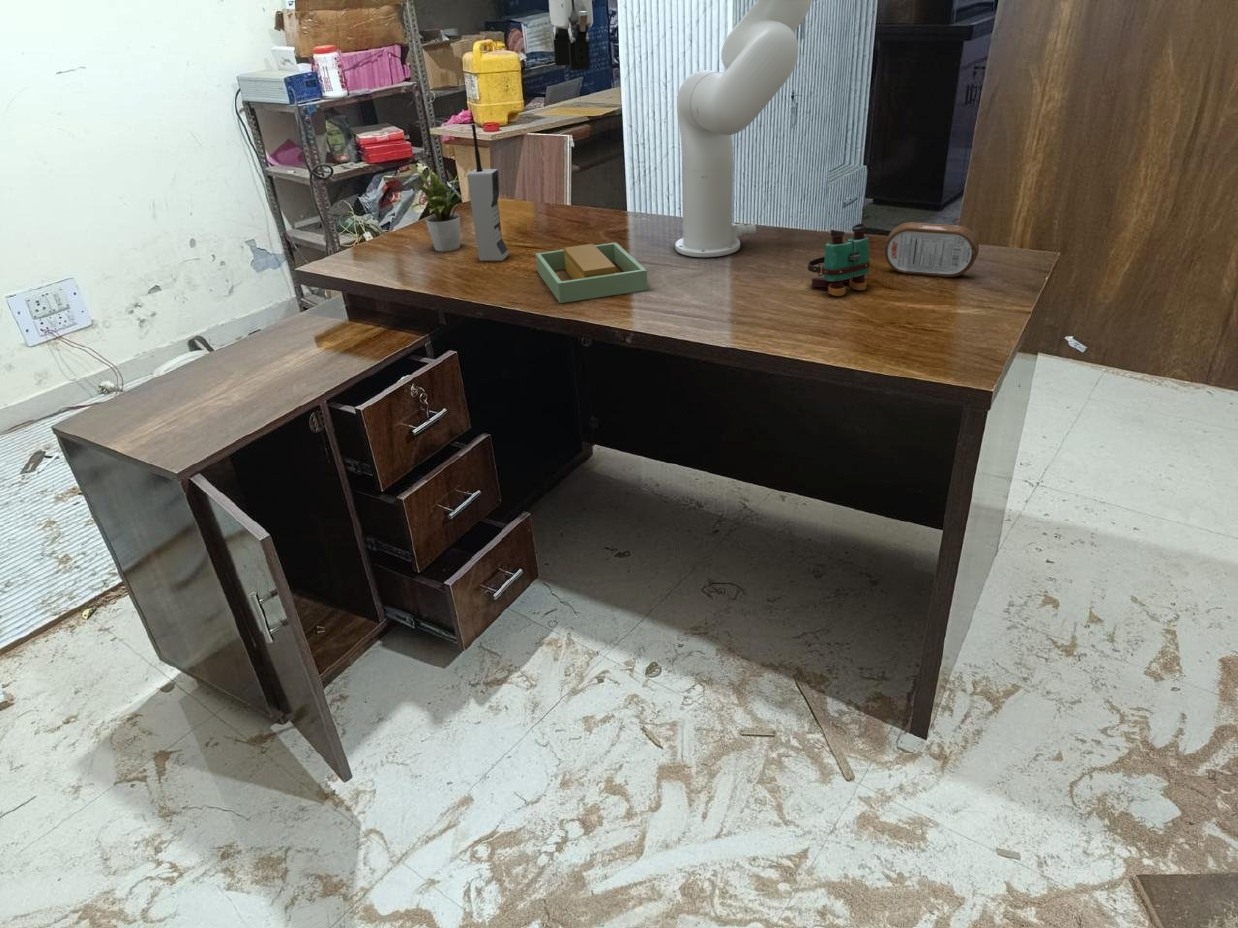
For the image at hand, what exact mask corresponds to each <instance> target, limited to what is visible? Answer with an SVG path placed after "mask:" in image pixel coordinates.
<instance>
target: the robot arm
mask: <svg viewBox="0 0 1238 928" xmlns="http://www.w3.org/2000/svg"><path fill="white" fill-rule="evenodd" d="M812 2H813V0H756V1H755V2H754V4H753V5H752V6H751V7H750V8H749V9H748V11H747V12H746V13H745V14H744V15H743V17H742V18H741V19H740V21H738V23H737V24H736V25H735V26H734V28H733V29H732V30H731V31H730V32H729V33H728V35H727V36H726V38H725V39H724V41H723V43H722V47H721V52H720V56H721V57H720V58H721V62H722V66H723V67H724V69H725V71H724V72H722V71H717V70H710V69H702V70H699V71H698V70H697V71H695V72H693V73H691V74H690V75H689V76H687V77H686V78H685V79H684V81H683V82H682V83H681V85H680V87H679V89H678V93H677V97H676V113H677V120H678V127H679V134H680V144H681V145H680V146H681V193H682V194H681V195H682V197H681V198H682V238H679V239H678V240H677V241H676V242H675V244H674V249H675V251H676V252H677V253H678V254H680V255H682V256H687V257H693V258H716V257H723V256H728V255H731V254H733V253H736V252H738V251H739V250H740V248H741V241H740V238H741V237H742V236H751V235H756V234H757V227H756V225H755V224H754V223H752V224H745V223H735V222H733V211H734V210H733V209H734V208H733V207H734V205H733V201H734V141H733V136H732V135H736V134H738V133H741V132H742V131H743V130H745V129H746V128H747V127H748V126H750V124H751V123H752V122H753V121H754V120H755V119H756V118H757V117H758V115H760V113H761V112H762V111H763V110H764V109H765V107H766V106H767V105H768V104H769V103H770V102H771V100H772V99H773V98H774V97H775V95H777V93H778V92H779V91H780V89H781V88H783V86H784V85H785V84H786V83H787V82H788V80H789V78H790V77H791V75H792V74H793V72H794V69H795V67H796V64H797V61H798V58H799V42H798V39H797V35H796V34H795V32H796V30H797V29H798V28H799V27H800V25H801V23H802V22H803V21H804V19H805V18H806V16H807V15H808V13H809V11H810V8H811V6H812ZM548 10H549V18H550V19H549V20H550V23H551V25H552V28H553V30H552V38H553V53H554V55H553V56H554V64H555V66H558V67H561V66H569V69H570V70H571V71H584V70H590V68H591V58H590V57H591V56H590V42H589V41H590V36H589V35H590V34H589V32H588V30H589V28H592V26H593V24H594V15H593V3H592V0H548Z"/></svg>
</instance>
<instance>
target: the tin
mask: <svg viewBox="0 0 1238 928" xmlns="http://www.w3.org/2000/svg"><path fill="white" fill-rule="evenodd" d="M979 247H980V246H979V241H978V239H977V237H976V235H975V233H973V232H972V231H971V230H970V229H968V228H966V227H964V226H961V225H954V224H953V225H952V224H939V223H926V222H925V223H924V222H916V221H915V222H914V221H913V222H912V221H909V222H905V223H901V224H899V225H897V226H896V227H894V228H893V229H892V230H891V231H890V232H889V234H888V236H887V238H886V240H885V243H884V248H883V253H884V258H885V261H886V262H887V264H888V266H889V267H891V269H893V270H894V271H897V272H899V273H902V274H906V275H907V274H908V275H909V274H910V275H919V276H931V277H941V278H955V277H959V276H961V275H964V274H965V273H966V272H968V271H969V270H970V269H971V268H972V266H973V265H974V263H975V261H976V260H977V257H978V255H979V249H980V248H979Z"/></svg>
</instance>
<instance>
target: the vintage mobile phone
mask: <svg viewBox="0 0 1238 928" xmlns="http://www.w3.org/2000/svg"><path fill="white" fill-rule="evenodd" d="M471 130H472V136H473V137H472V138H473V145H474V146H473V147H474V156H475V165H476V168H474V169H472V170H471V171H470V172H468V173H467V175H466V176H467V177H466V179H467V186H468V193H469V199H470V205H471V212H472V213H471V214H472V220H473V226H474V227H473V228H474V235H475V241H476V242H475V243H476V247H477V255H478V260H479V261H480V262H503V261H504V260H506V258H507V257H509V249H508V247H507V246H506V243H505V241H504V240H503V233H502V226H501V225H502V224H501V218H500V217H501V216H500V211H499V203H498V200H499V197H500V180H499V179H500V178H499V177H500V176H499V168H483V166H482V163H481V155H480V149H479V144H478V137H477V129H476V124H475V123H473V124H471Z"/></svg>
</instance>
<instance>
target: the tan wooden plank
mask: <svg viewBox="0 0 1238 928" xmlns="http://www.w3.org/2000/svg"><path fill="white" fill-rule="evenodd" d="M595 245H596V244H594V243H587V244H581V245H573V246H566V247H563V250H564V257H565V268H566V269H565V272H566V274H567V275H569V277H570V278H571V280H575V279H581V278H588V277H595V276H602V275H609V274H615V273H617V269H616V265H615V263H614V262H611V261H610V260H609V259H608V258H607V257H606V256H605V255H604V254H603V253H602V252H601V251H600V250H599V249H598V248H597V247H596V246H595Z"/></svg>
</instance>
